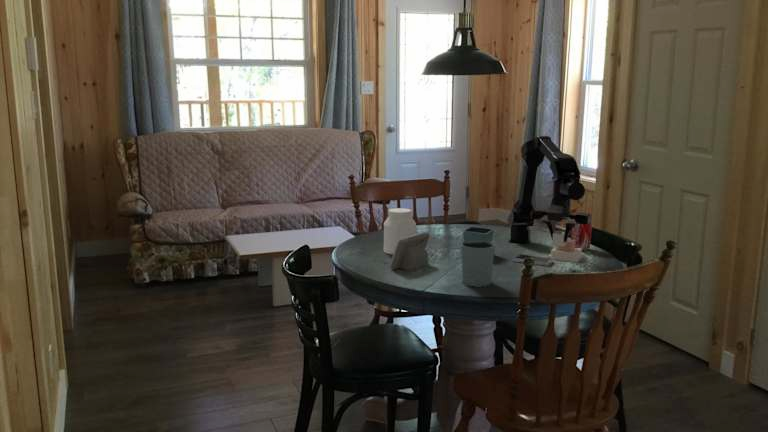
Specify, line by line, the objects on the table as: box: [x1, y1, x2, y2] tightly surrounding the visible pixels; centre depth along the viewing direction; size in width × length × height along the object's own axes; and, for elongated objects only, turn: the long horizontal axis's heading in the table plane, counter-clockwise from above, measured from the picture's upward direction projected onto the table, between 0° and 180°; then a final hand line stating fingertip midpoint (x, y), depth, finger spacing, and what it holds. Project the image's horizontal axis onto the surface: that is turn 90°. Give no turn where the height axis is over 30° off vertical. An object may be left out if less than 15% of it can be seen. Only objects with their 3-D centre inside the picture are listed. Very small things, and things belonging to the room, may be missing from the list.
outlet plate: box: [547, 246, 585, 263], centre depth 232 cm, size 10×10×3 cm
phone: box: [512, 253, 554, 267], centre depth 226 cm, size 12×6×1 cm, turn 60°
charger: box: [558, 238, 575, 253], centre depth 232 cm, size 4×4×5 cm
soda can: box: [570, 221, 592, 251], centre depth 243 cm, size 7×7×12 cm
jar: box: [383, 207, 417, 256], centre depth 239 cm, size 12×10×15 cm
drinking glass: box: [460, 241, 496, 288], centre depth 201 cm, size 10×10×12 cm
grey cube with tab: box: [551, 230, 566, 247], centre depth 221 cm, size 4×4×4 cm
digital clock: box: [389, 231, 430, 271], centre depth 220 cm, size 16×9×11 cm, turn 131°
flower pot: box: [462, 226, 494, 243], centre depth 235 cm, size 9×9×9 cm
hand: (559, 241), depth 221 cm, fingers closed on grey cube with tab, 3 cm apart
